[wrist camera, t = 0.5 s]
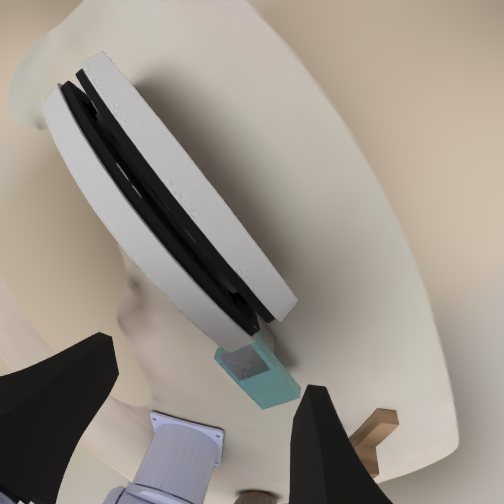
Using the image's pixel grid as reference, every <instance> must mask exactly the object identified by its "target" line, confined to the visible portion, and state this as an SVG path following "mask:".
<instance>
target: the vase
mask: <svg viewBox="0 0 504 504" xmlns="http://www.w3.org/2000/svg"><path fill="white" fill-rule="evenodd" d="M234 504H277V502H276V501H275V499H274V498H273V497H272V496H271V495H270V494H267V493H264V492H257V491H250V492H246V493H244V494H243V495H241V496H240V497H238V499H237V500H236V501H235V503H234Z"/></svg>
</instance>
